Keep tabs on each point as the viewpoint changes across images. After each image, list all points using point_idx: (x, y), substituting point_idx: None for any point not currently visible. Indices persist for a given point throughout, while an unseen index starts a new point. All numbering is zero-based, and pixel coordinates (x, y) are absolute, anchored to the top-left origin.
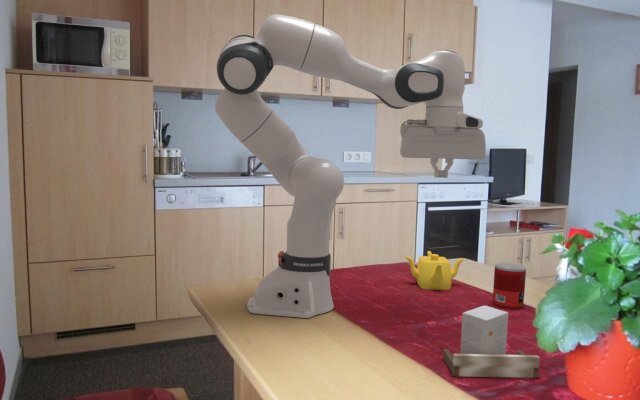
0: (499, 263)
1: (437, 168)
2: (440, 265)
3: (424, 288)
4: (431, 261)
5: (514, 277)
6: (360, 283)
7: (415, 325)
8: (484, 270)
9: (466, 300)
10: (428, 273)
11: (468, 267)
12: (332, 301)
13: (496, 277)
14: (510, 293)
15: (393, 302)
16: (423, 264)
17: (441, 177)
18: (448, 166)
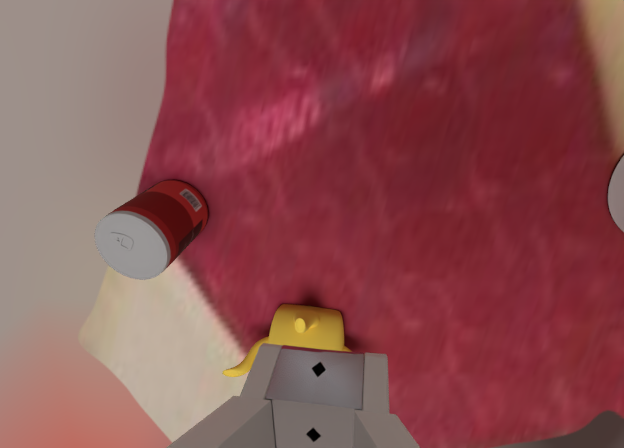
0: (153, 274)
1: (374, 432)
2: (300, 318)
3: (336, 310)
4: None
5: (136, 204)
6: (477, 350)
7: (429, 51)
8: (182, 418)
9: (261, 236)
10: (324, 332)
11: None
12: (622, 182)
13: (179, 230)
14: (164, 191)
15: (435, 219)
16: None
17: (324, 352)
18: (220, 439)
